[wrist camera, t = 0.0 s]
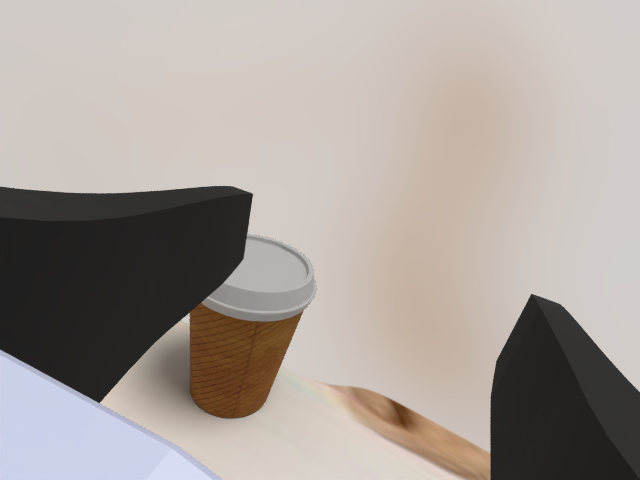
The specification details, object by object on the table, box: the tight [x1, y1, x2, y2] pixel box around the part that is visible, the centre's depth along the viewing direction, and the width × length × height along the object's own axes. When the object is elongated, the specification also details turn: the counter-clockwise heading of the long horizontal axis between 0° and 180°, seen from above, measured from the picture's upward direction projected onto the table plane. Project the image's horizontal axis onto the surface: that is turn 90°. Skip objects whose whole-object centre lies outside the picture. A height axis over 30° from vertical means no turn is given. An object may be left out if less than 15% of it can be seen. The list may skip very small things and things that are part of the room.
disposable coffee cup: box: [190, 234, 317, 418], centre depth 34 cm, size 10×10×12 cm
